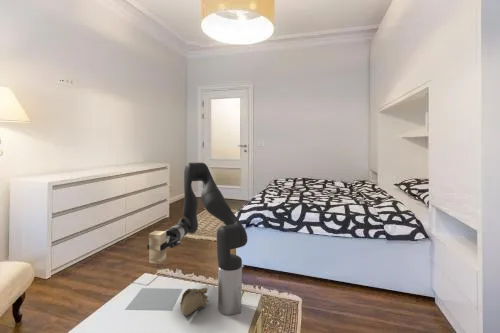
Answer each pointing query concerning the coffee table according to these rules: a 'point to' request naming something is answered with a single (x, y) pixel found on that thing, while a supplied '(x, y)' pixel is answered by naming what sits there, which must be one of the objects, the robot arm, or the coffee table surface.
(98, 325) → the coffee table surface
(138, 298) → the slate mat
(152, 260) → the birch block
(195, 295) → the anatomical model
